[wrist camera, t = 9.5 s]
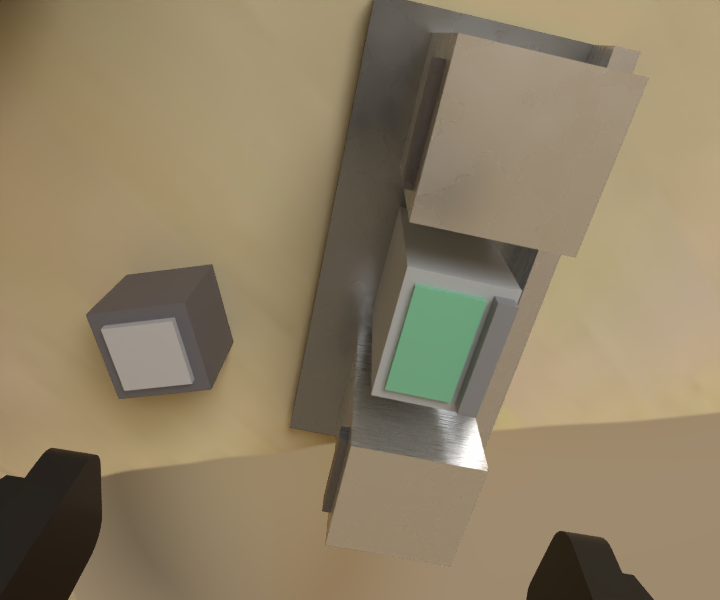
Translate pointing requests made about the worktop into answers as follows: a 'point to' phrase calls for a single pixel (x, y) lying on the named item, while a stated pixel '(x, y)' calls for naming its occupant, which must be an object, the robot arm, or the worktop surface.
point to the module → (440, 317)
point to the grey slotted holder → (454, 213)
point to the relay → (162, 332)
